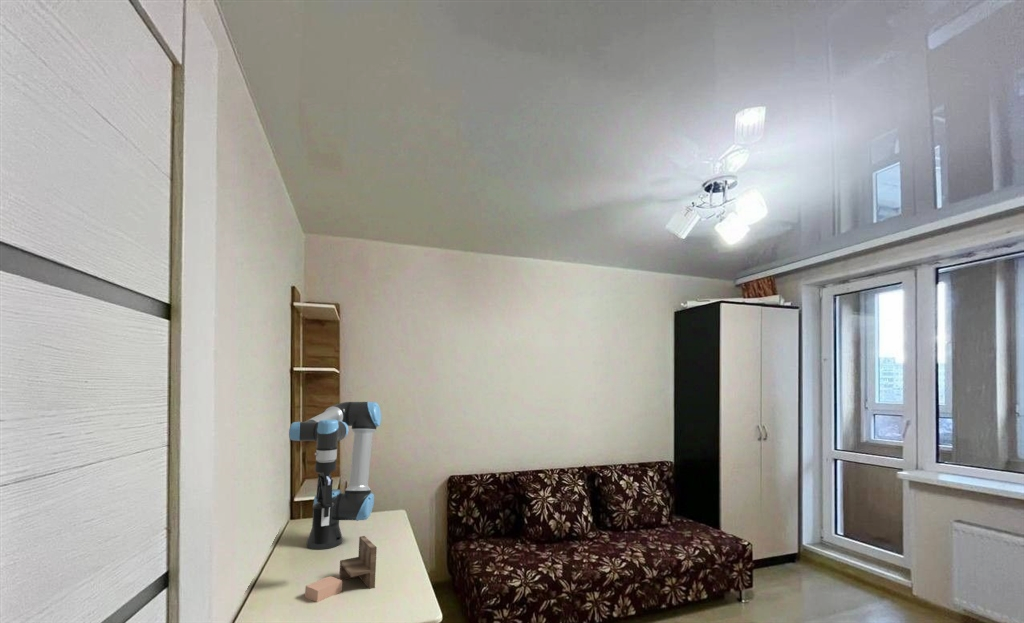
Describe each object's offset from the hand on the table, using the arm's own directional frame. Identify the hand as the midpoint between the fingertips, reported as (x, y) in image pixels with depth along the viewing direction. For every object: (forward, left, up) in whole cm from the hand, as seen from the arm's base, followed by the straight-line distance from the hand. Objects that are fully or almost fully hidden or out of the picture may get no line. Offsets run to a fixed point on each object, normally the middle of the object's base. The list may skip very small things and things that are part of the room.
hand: (322, 522), depth 181 cm
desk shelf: (+7, +11, -22) cm, 26 cm away
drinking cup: (0, 0, -7) cm, 7 cm away
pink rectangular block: (+10, -1, -22) cm, 24 cm away
